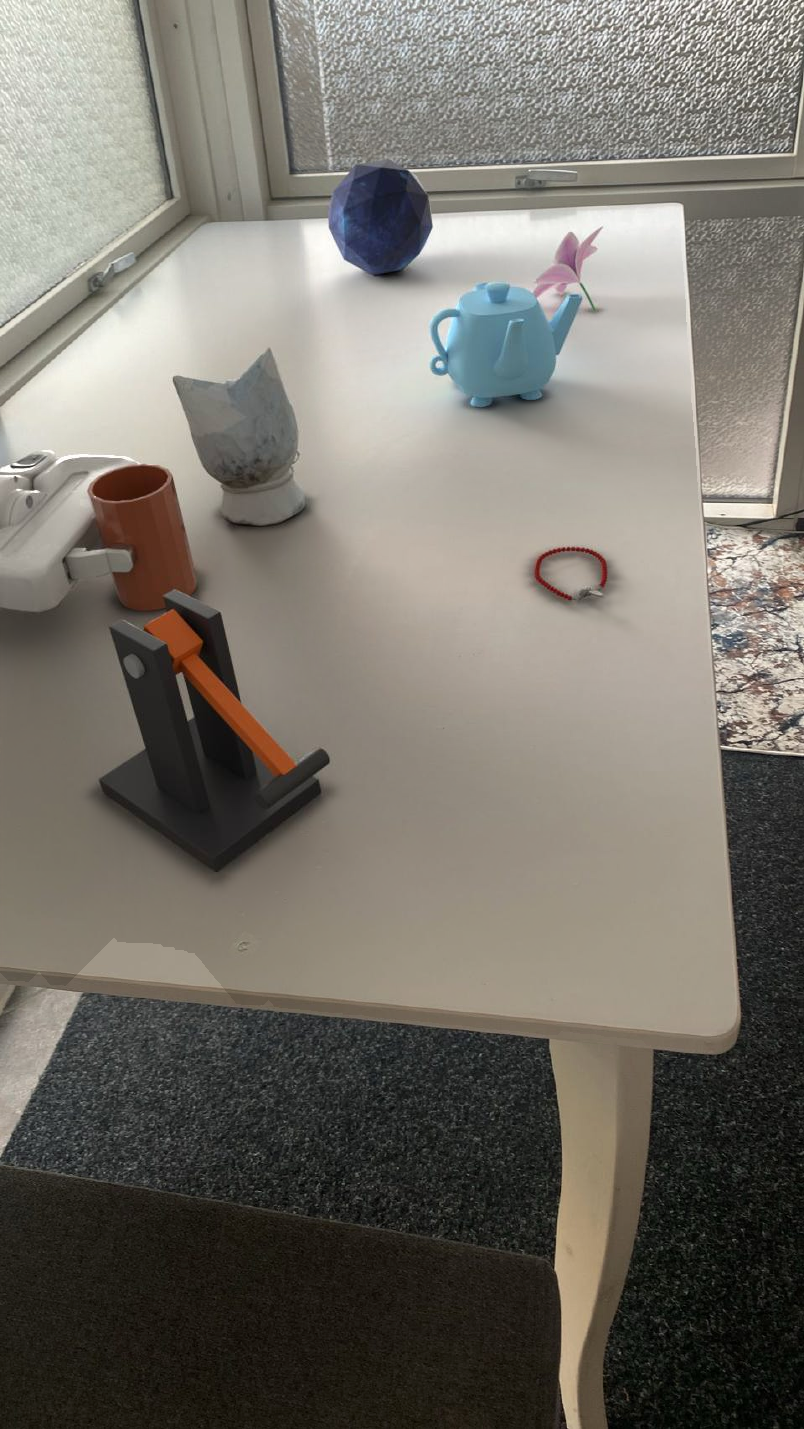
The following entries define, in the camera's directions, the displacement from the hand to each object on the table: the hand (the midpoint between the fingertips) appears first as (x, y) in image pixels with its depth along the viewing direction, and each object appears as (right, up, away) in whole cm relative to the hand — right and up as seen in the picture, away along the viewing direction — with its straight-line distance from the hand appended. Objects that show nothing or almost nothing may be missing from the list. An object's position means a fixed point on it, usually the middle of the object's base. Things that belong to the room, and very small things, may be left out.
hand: (153, 532), depth 92 cm
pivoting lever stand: (+8, -20, -18) cm, 28 cm away
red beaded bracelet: (+34, -4, -1) cm, 35 cm away
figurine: (+7, +5, +14) cm, 16 cm away
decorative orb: (+18, +49, +68) cm, 86 cm away
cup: (0, -4, +4) cm, 6 cm away
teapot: (+32, +21, +31) cm, 49 cm away
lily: (+42, +37, +50) cm, 75 cm away
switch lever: (+10, -15, -25) cm, 31 cm away
